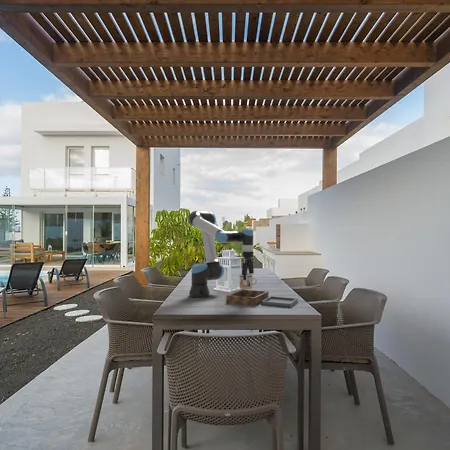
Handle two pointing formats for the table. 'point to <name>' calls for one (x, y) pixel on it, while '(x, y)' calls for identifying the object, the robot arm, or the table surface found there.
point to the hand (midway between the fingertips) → (247, 283)
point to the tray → (279, 301)
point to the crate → (247, 297)
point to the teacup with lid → (249, 282)
